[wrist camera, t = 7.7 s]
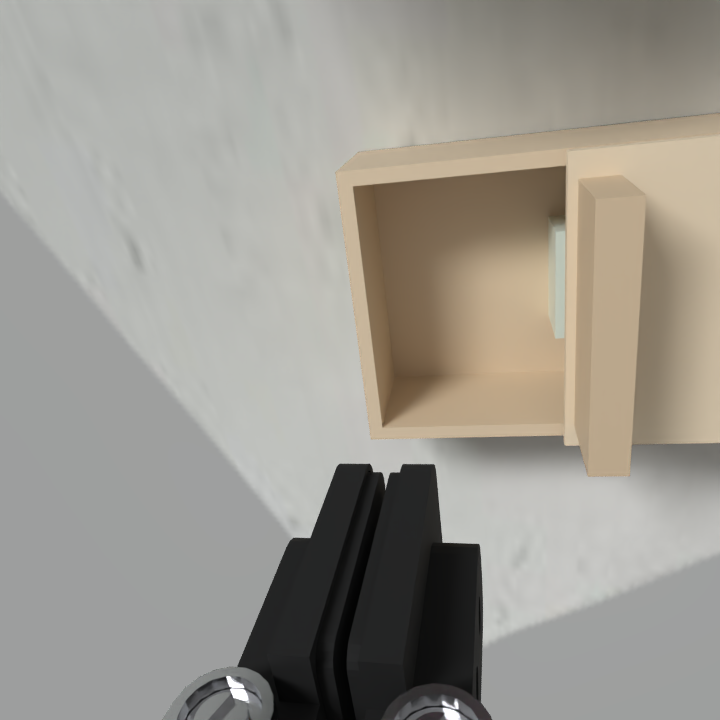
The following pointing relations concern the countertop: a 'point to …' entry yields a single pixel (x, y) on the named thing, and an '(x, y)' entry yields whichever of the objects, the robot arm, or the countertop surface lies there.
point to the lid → (641, 298)
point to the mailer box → (465, 278)
